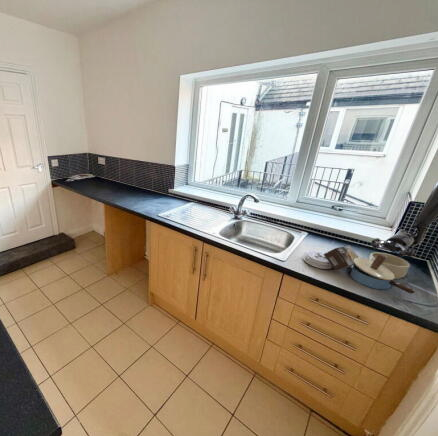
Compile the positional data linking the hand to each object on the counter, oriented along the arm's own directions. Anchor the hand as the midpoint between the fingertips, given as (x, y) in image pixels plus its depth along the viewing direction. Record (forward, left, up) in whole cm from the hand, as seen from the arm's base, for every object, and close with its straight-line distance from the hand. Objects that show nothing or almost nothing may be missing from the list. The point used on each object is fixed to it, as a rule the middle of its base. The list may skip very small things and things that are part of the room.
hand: (386, 250), depth 110 cm
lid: (+17, +17, -13) cm, 27 cm away
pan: (-5, +9, -12) cm, 16 cm away
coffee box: (+11, +5, -8) cm, 14 cm away
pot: (0, -7, -13) cm, 14 cm away
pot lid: (-1, +9, -7) cm, 12 cm away
